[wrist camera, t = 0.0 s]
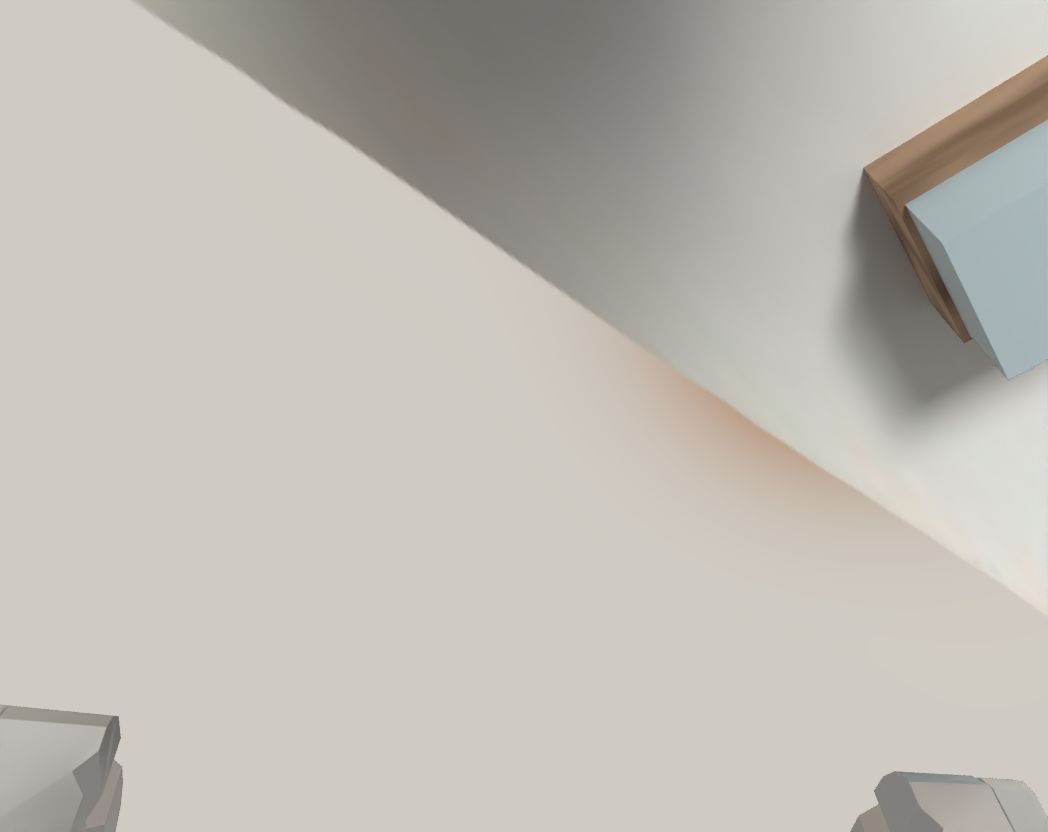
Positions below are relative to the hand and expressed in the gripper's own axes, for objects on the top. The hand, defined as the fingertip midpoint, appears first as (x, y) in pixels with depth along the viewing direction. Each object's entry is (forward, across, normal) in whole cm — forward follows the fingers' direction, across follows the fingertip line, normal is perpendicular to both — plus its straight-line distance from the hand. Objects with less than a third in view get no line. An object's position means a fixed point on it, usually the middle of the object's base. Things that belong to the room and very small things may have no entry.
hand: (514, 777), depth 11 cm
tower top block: (+43, -32, +8) cm, 54 cm away
